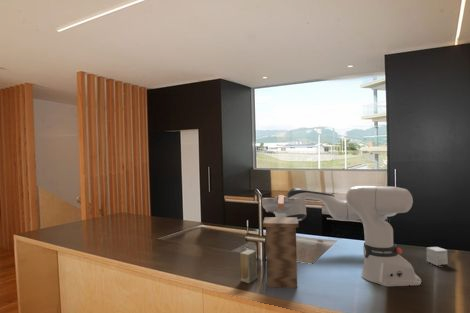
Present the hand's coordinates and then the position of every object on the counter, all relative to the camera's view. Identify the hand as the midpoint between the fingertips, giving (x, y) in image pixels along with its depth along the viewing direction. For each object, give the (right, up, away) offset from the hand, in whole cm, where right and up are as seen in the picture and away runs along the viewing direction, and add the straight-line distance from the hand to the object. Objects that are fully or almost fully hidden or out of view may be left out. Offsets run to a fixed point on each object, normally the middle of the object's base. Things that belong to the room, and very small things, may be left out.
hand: (281, 198), depth 158 cm
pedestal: (-4, -31, -28) cm, 42 cm away
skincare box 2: (+72, -30, -11) cm, 79 cm away
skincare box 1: (-17, -32, -25) cm, 44 cm away
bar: (-1, -2, -6) cm, 6 cm away
